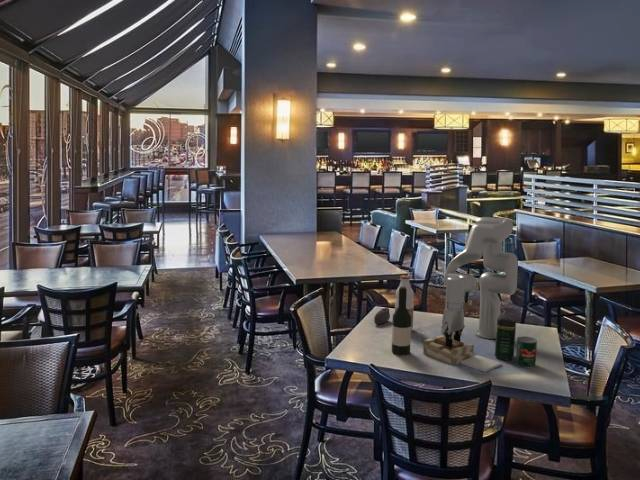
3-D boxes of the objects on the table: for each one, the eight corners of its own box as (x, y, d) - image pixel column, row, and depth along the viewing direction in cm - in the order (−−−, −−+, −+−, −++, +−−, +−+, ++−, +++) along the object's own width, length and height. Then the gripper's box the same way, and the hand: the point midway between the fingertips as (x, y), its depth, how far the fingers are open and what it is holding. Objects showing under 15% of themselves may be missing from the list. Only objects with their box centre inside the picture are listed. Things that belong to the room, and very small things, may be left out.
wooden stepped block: (441, 347, 247) (442, 334, 246) (472, 358, 234) (473, 344, 233) (423, 353, 239) (423, 340, 238) (454, 364, 225) (455, 350, 225)
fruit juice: (415, 332, 270) (417, 277, 266) (397, 332, 268) (399, 278, 264) (409, 326, 279) (411, 274, 275) (391, 327, 277) (393, 274, 273)
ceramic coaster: (477, 357, 235) (477, 355, 235) (501, 365, 226) (501, 363, 225) (460, 363, 227) (460, 361, 227) (485, 371, 218) (485, 369, 218)
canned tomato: (525, 368, 222) (526, 343, 220) (511, 362, 229) (513, 337, 227) (539, 366, 225) (541, 341, 223) (525, 360, 232) (527, 335, 231)
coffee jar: (513, 361, 230) (515, 320, 227) (494, 359, 233) (496, 317, 230) (514, 354, 239) (516, 314, 236) (495, 352, 242) (498, 312, 239)
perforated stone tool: (379, 327, 278) (379, 314, 277) (370, 325, 280) (370, 312, 280) (392, 320, 290) (392, 308, 289) (383, 318, 293) (383, 306, 292)
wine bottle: (411, 350, 243) (413, 285, 239) (408, 356, 235) (410, 289, 231) (393, 348, 246) (395, 284, 241) (389, 354, 238) (391, 288, 234)
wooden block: (445, 345, 241) (445, 336, 240) (463, 351, 233) (463, 342, 232) (437, 347, 238) (438, 339, 237) (456, 354, 230) (456, 345, 229)
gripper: (459, 300, 240) (457, 339, 242) (434, 306, 229) (433, 347, 232) (473, 303, 234) (471, 343, 237) (449, 310, 223) (447, 352, 226)
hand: (452, 345), depth 234 cm, fingers closed on wooden block, 5 cm apart
